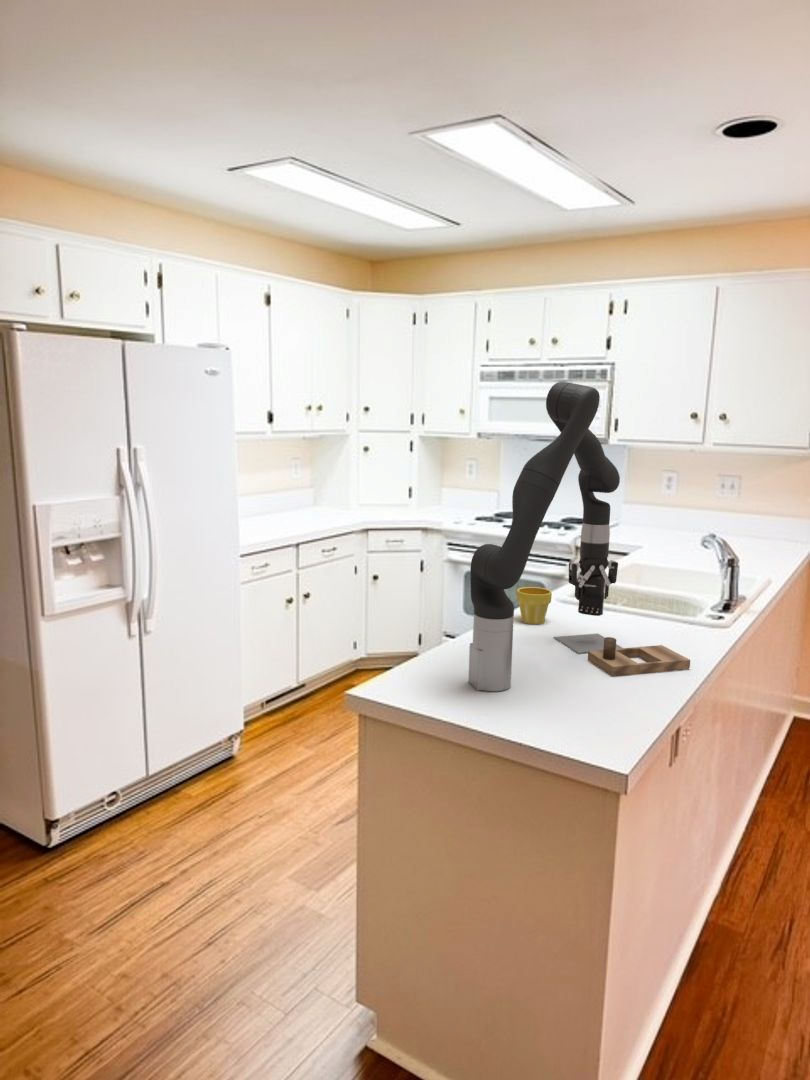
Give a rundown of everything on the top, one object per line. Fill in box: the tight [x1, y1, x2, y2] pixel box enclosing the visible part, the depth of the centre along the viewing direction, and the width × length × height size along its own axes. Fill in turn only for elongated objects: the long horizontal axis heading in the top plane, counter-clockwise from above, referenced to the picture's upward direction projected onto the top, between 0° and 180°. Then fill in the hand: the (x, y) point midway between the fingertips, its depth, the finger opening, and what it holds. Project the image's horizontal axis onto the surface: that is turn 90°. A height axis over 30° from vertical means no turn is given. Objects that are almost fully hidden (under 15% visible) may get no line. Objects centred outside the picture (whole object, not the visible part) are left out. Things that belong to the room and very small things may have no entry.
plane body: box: [587, 636, 691, 677], centre depth 188 cm, size 22×12×8 cm, turn 106°
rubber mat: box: [553, 633, 623, 655], centre depth 204 cm, size 14×14×1 cm
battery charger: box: [577, 574, 606, 617], centre depth 201 cm, size 7×4×11 cm, turn 61°
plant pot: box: [516, 586, 553, 625], centre depth 224 cm, size 10×10×10 cm
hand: (591, 599), depth 202 cm, fingers closed on battery charger, 7 cm apart
